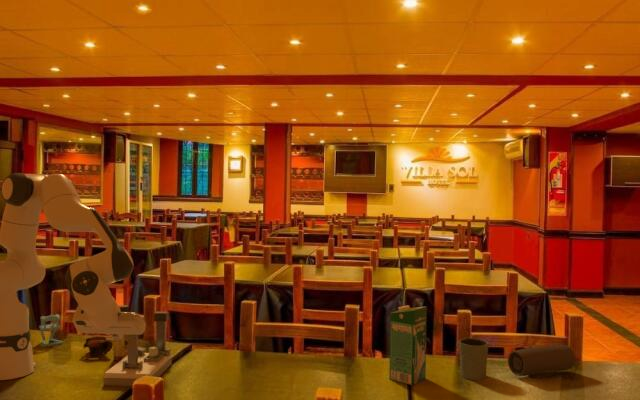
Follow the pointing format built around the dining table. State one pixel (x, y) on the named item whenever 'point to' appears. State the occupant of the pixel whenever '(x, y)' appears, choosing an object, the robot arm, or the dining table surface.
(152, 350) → the push button
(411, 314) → the milk carton
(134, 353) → the lever orange
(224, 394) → the dining table surface
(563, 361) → the bluetooth speaker
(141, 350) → the block
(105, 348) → the pottery mug
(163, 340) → the lever black
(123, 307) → the sauce bottle
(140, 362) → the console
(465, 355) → the grey cup
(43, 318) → the chair
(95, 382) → the dining table surface
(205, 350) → the dining table surface
